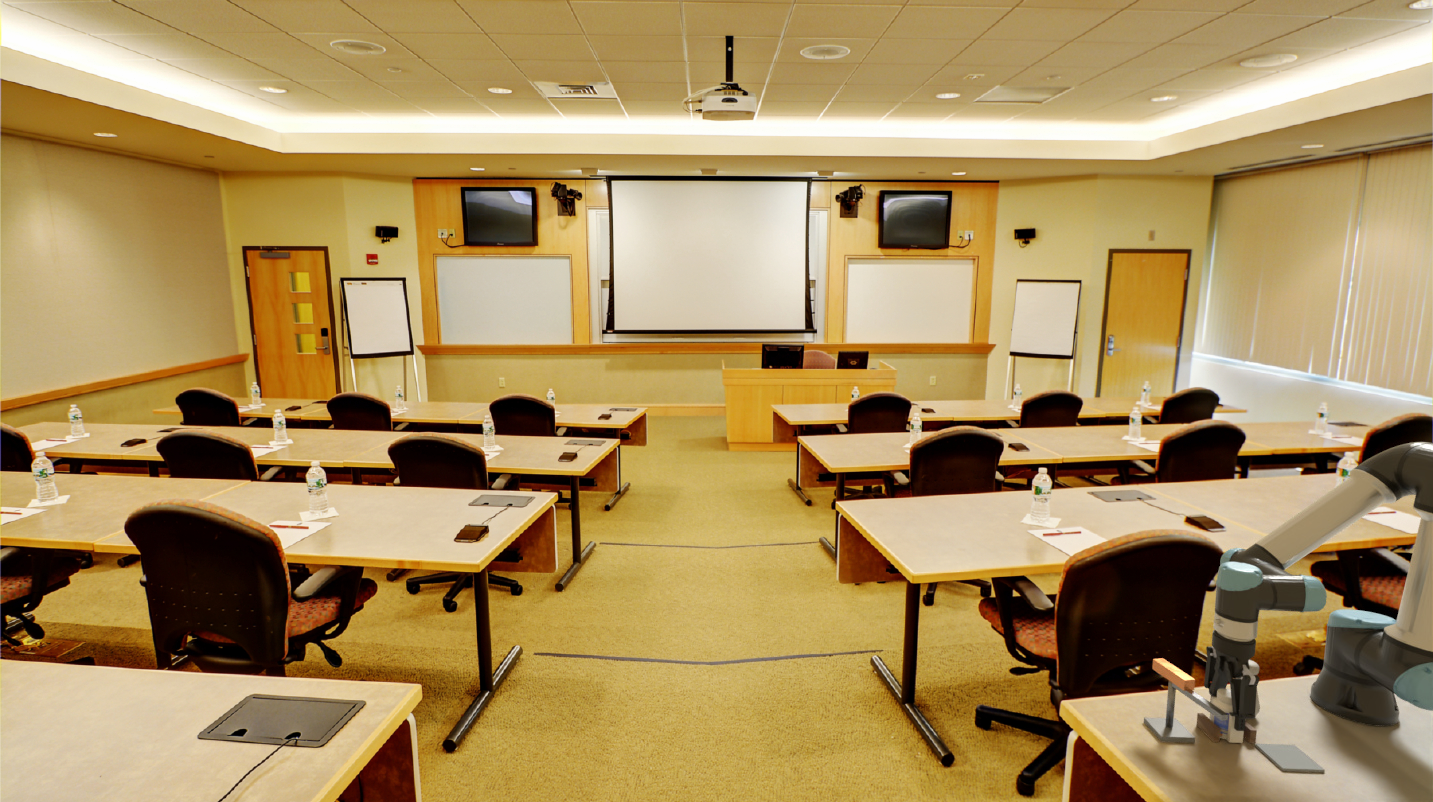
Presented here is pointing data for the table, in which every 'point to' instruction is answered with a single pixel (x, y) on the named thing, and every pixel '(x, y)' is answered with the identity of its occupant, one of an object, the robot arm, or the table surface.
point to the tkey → (1182, 690)
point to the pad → (1289, 758)
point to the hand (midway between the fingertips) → (1225, 732)
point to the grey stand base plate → (1169, 730)
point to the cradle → (1214, 730)
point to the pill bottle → (1224, 704)
